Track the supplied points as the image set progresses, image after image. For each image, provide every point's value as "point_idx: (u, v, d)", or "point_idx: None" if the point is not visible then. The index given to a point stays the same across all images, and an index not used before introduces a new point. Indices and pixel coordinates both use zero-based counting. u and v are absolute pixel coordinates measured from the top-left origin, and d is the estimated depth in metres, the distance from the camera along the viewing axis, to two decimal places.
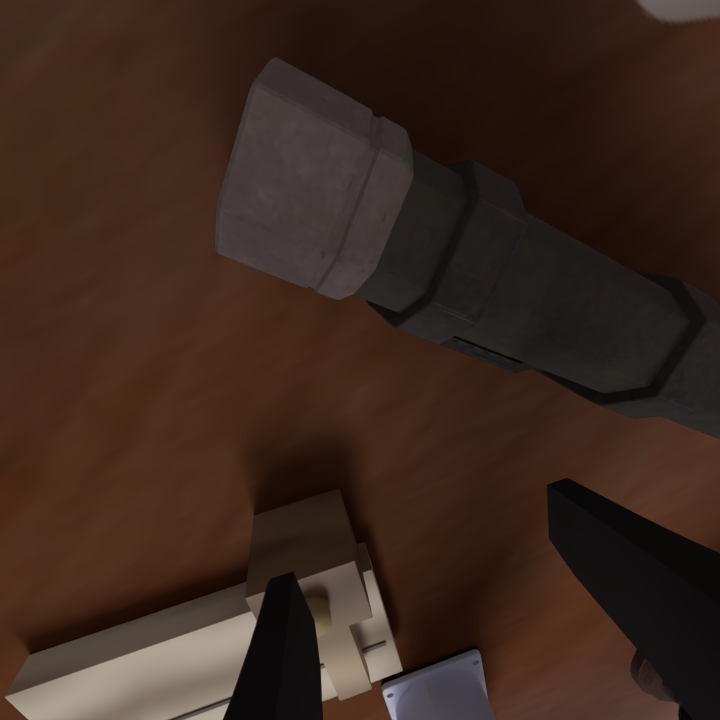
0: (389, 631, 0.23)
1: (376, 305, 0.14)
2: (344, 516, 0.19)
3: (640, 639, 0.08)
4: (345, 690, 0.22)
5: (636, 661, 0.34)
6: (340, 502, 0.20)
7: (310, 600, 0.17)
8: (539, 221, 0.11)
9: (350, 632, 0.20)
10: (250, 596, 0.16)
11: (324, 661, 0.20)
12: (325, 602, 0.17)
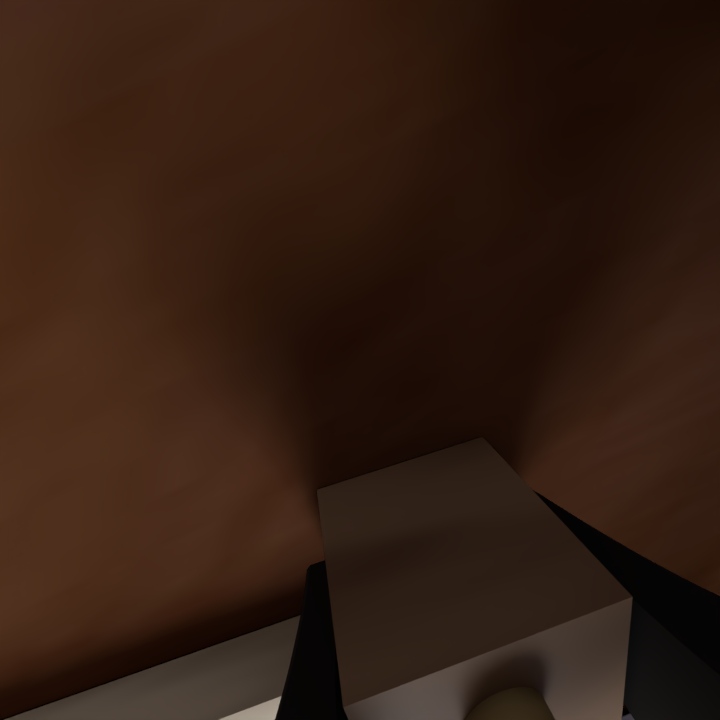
0: None
1: None
2: (527, 488, 0.09)
3: None
4: None
5: None
6: (501, 461, 0.10)
7: (511, 703, 0.06)
8: None
9: None
10: (358, 701, 0.06)
11: None
12: (546, 706, 0.06)
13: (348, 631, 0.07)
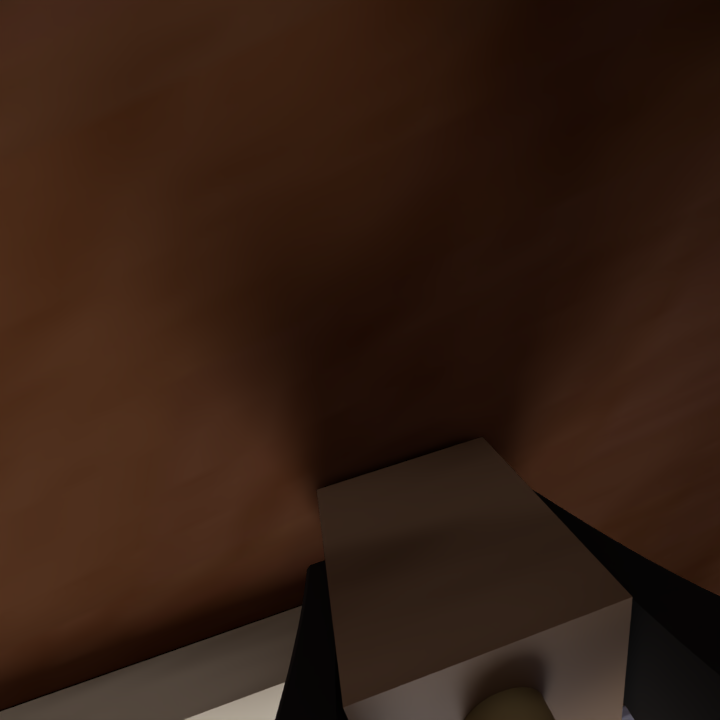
0: None
1: None
2: (527, 488, 0.09)
3: None
4: None
5: None
6: (501, 461, 0.10)
7: (511, 703, 0.06)
8: None
9: None
10: (358, 701, 0.06)
11: None
12: (546, 707, 0.06)
13: (348, 631, 0.07)
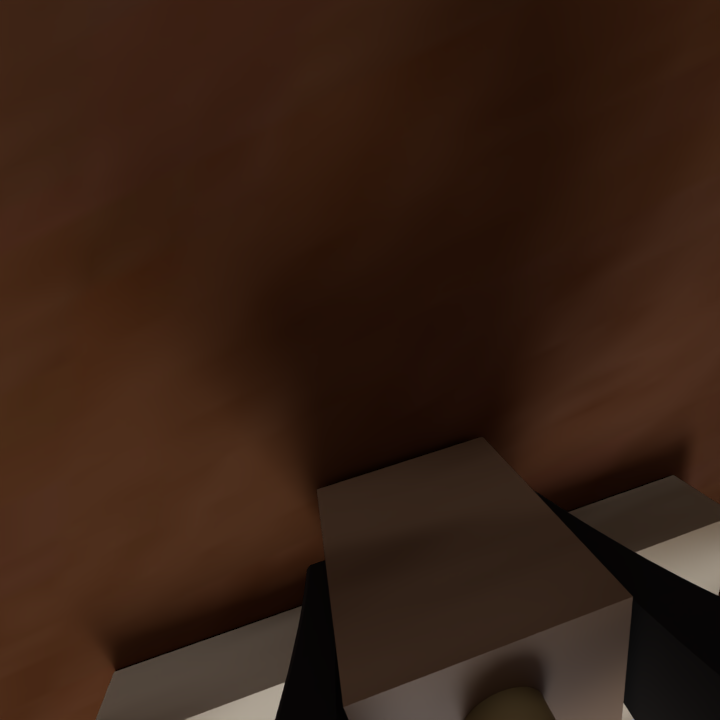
0: None
1: None
2: (527, 488, 0.09)
3: None
4: None
5: None
6: (501, 461, 0.10)
7: (511, 703, 0.06)
8: None
9: None
10: (358, 701, 0.06)
11: None
12: (546, 707, 0.06)
13: (348, 631, 0.07)
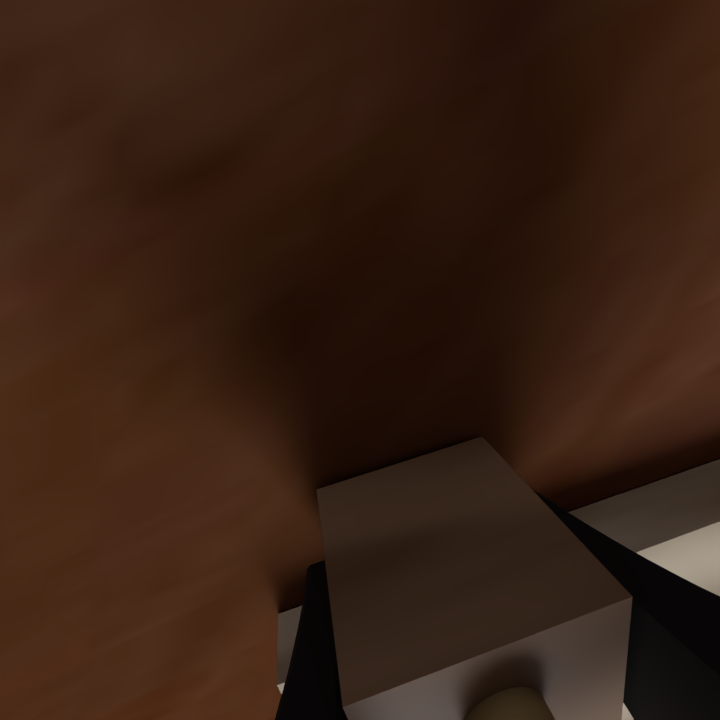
0: None
1: None
2: (526, 488, 0.09)
3: None
4: None
5: None
6: (501, 461, 0.10)
7: (510, 703, 0.06)
8: None
9: None
10: (357, 701, 0.06)
11: None
12: (546, 707, 0.06)
13: (348, 631, 0.07)
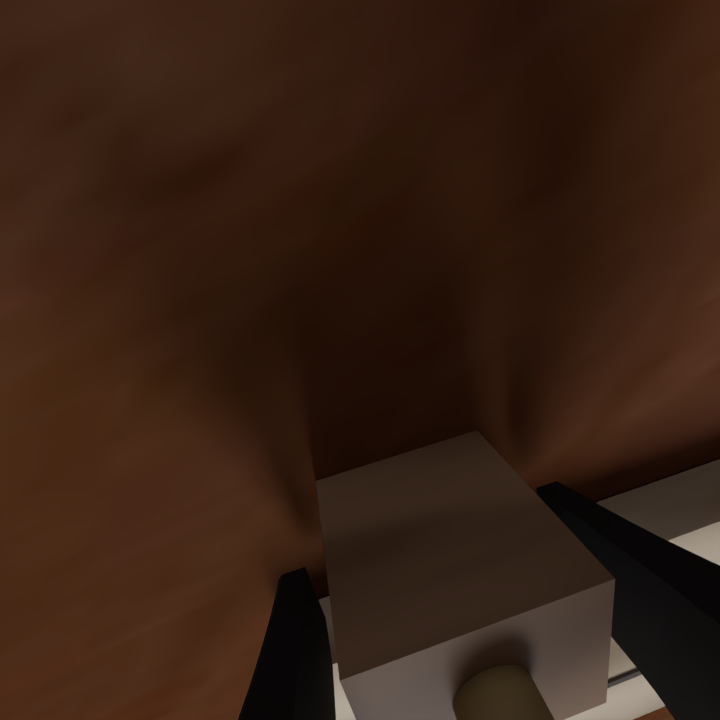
0: None
1: None
2: (518, 478, 0.09)
3: (628, 644, 0.08)
4: None
5: None
6: (494, 453, 0.10)
7: (499, 679, 0.06)
8: None
9: None
10: (353, 675, 0.06)
11: None
12: (533, 683, 0.07)
13: (345, 612, 0.07)
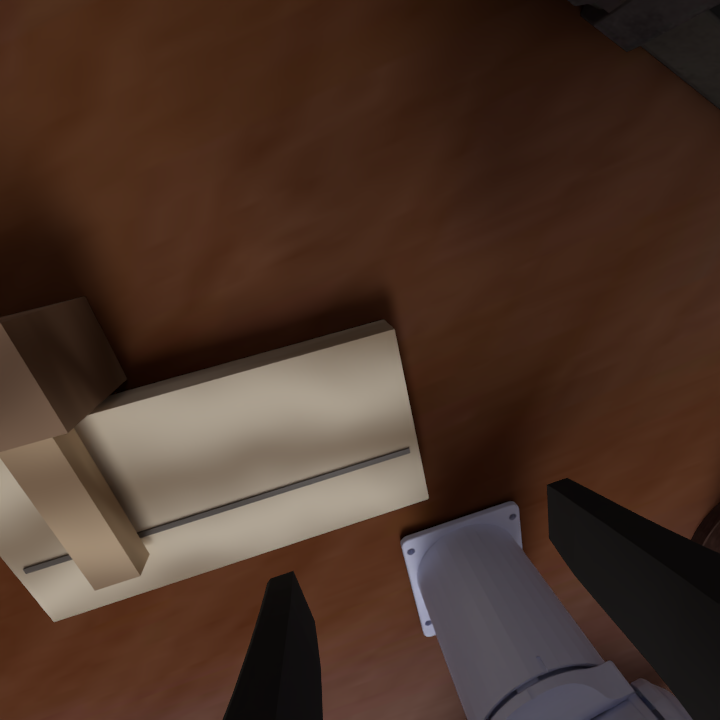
0: (414, 433, 0.19)
1: None
2: (54, 307, 0.14)
3: (640, 639, 0.08)
4: (98, 574, 0.16)
5: None
6: (67, 301, 0.15)
7: None
8: None
9: (79, 480, 0.15)
10: None
11: (50, 524, 0.15)
12: None
13: None
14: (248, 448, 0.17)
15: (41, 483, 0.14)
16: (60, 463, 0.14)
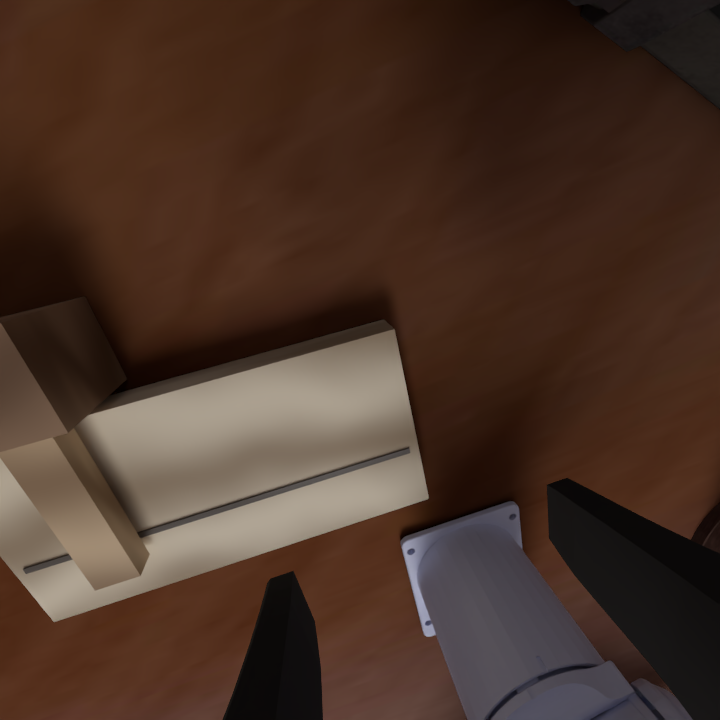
0: (414, 433, 0.19)
1: None
2: (54, 307, 0.14)
3: (640, 639, 0.08)
4: (99, 573, 0.16)
5: None
6: (67, 301, 0.15)
7: None
8: None
9: (79, 480, 0.15)
10: None
11: (50, 524, 0.15)
12: None
13: None
14: (248, 448, 0.17)
15: (41, 483, 0.14)
16: (60, 463, 0.14)
